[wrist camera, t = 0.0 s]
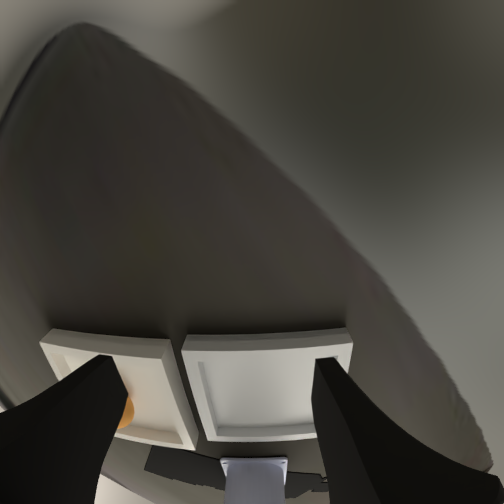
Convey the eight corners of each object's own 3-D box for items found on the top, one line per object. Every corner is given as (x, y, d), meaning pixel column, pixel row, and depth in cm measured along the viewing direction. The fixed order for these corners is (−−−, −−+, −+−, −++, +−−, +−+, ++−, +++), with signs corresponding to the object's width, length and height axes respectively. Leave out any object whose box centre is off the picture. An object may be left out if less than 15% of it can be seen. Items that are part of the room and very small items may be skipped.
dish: (198, 432, 24) (195, 450, 22) (97, 415, 25) (90, 429, 22) (170, 339, 20) (161, 359, 18) (52, 328, 21) (39, 341, 18)
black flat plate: (154, 440, 25) (358, 475, 28) (155, 437, 26) (357, 472, 29) (144, 469, 29) (315, 500, 32) (145, 467, 29) (315, 498, 32)
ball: (145, 410, 22) (133, 440, 18) (111, 404, 22) (97, 431, 18) (132, 382, 21) (116, 414, 17) (97, 376, 21) (79, 404, 17)
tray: (328, 420, 23) (332, 435, 21) (210, 425, 24) (207, 440, 22) (345, 327, 19) (353, 342, 17) (187, 334, 20) (181, 350, 18)
